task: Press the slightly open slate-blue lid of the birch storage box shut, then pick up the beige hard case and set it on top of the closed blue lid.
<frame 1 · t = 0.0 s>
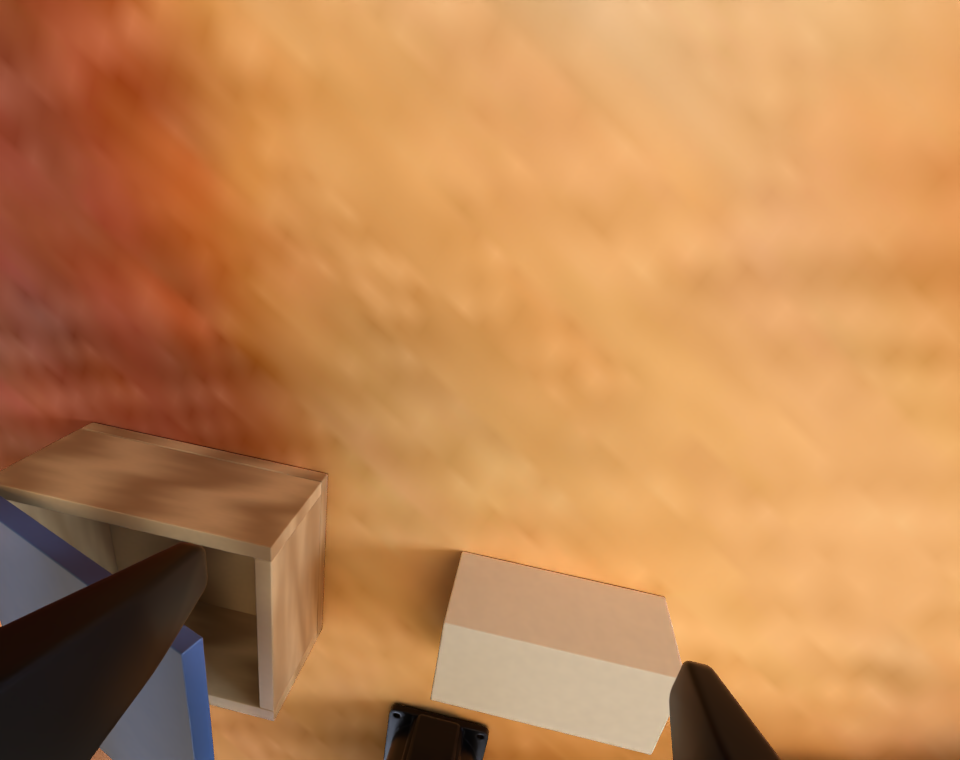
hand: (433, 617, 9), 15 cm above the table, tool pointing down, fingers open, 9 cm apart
case: (551, 609, 28), on the table
blue lid: (90, 658, 22), point 8 cm above the table, hinge at 18.0°
storage box: (214, 531, 29), on the table
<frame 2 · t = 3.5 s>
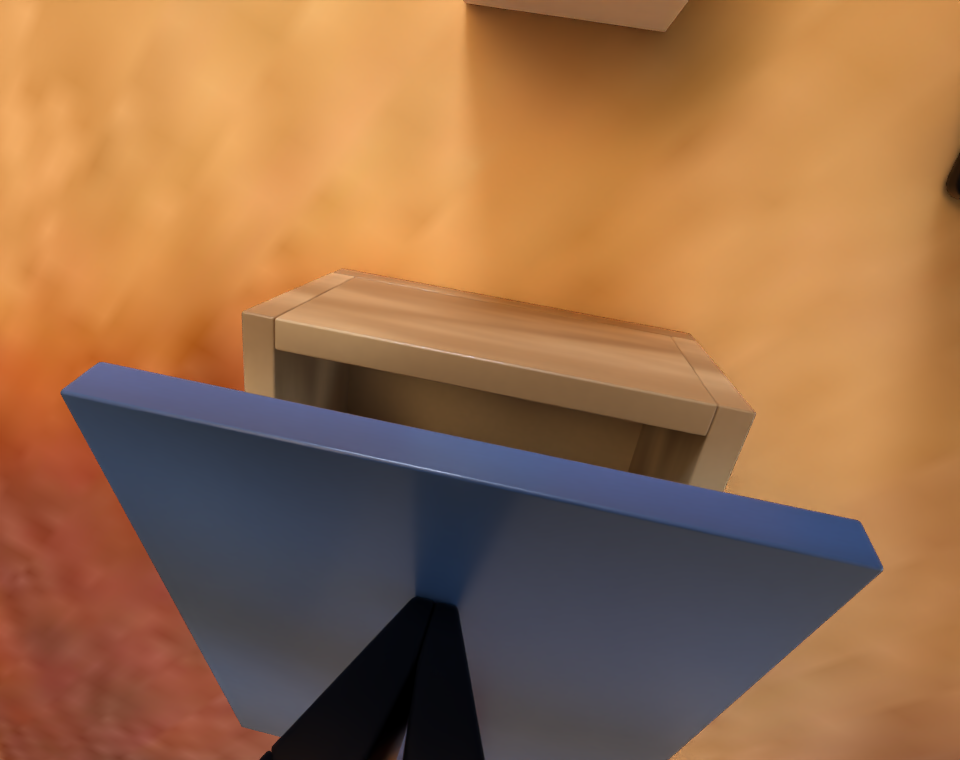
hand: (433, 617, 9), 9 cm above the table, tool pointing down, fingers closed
blue lid: (429, 663, 12), point 8 cm above the table, hinge at 15.3°
storage box: (479, 473, 19), on the table
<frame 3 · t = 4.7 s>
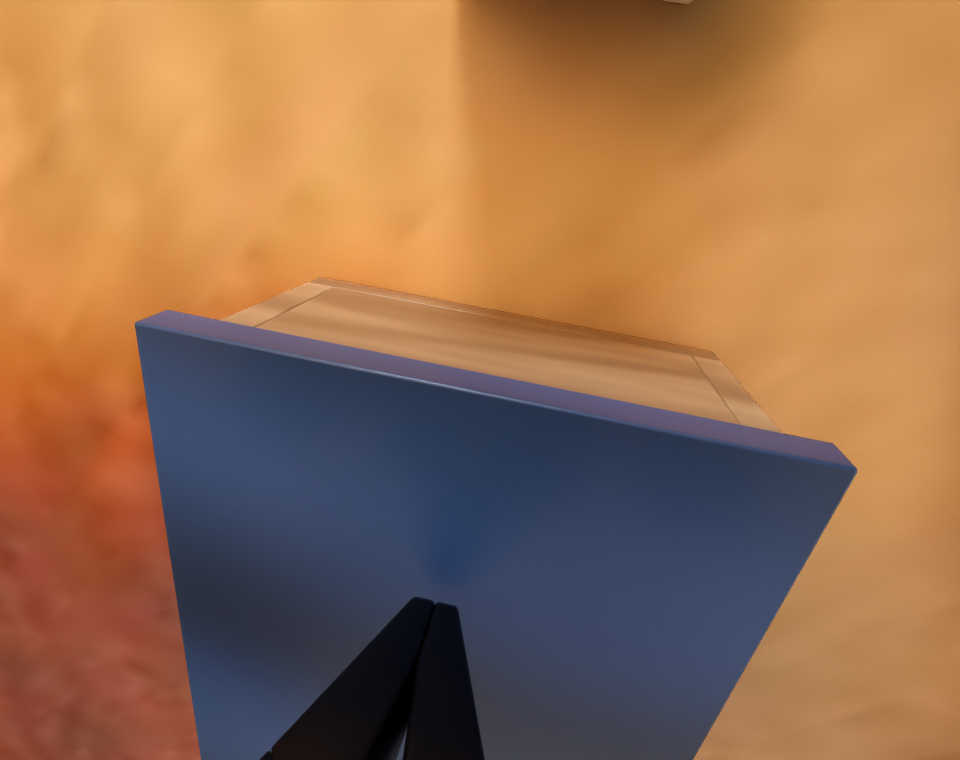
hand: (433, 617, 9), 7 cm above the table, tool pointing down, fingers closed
blue lid: (433, 665, 11), point 6 cm above the table, hinge at 1.6°
storage box: (475, 502, 17), on the table
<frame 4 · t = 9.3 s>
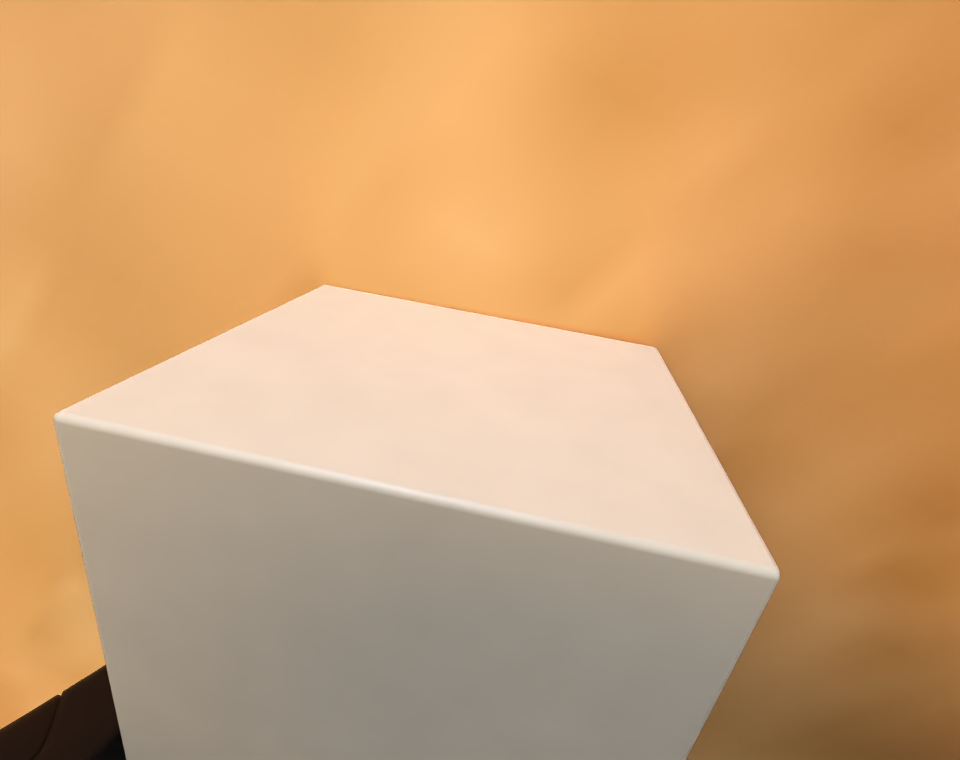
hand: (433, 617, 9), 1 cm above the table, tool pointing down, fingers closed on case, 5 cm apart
case: (444, 575, 10), on the table, touching gripper
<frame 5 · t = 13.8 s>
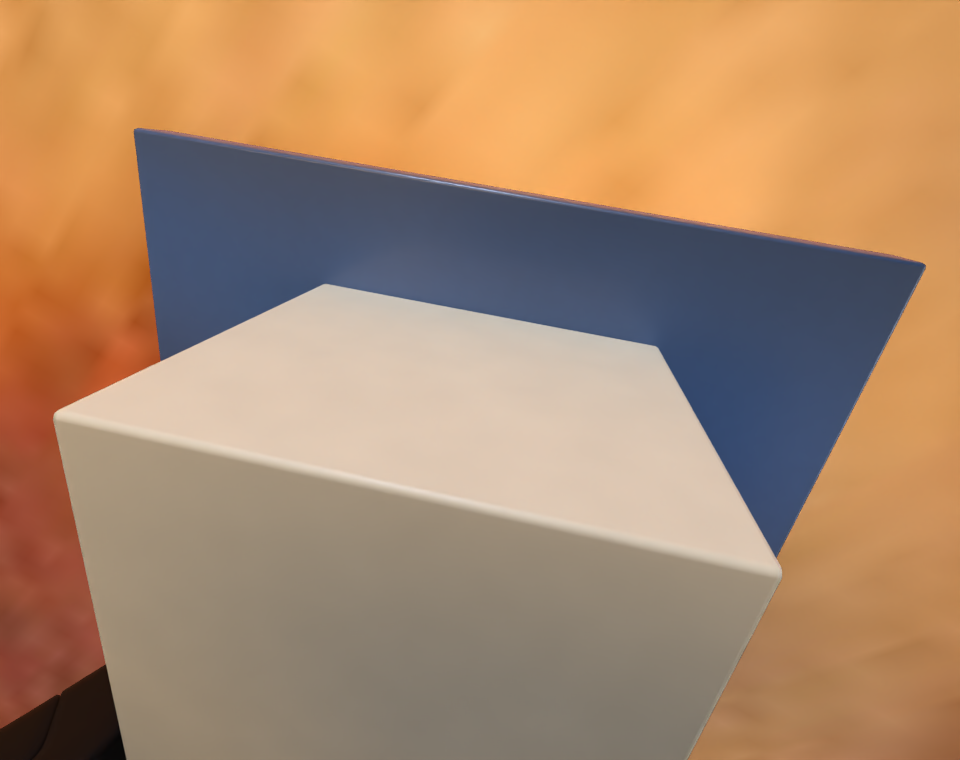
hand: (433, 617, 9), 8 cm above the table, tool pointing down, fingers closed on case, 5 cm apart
case: (444, 574, 10), point 7 cm above the table, touching blue lid, gripper
blue lid: (450, 550, 10), point 6 cm above the table, hinge at 0.6°, touching case
when the fingers open (8 cm above the table, at t = 14.0 s): case stays where it is, resting on blue lid.
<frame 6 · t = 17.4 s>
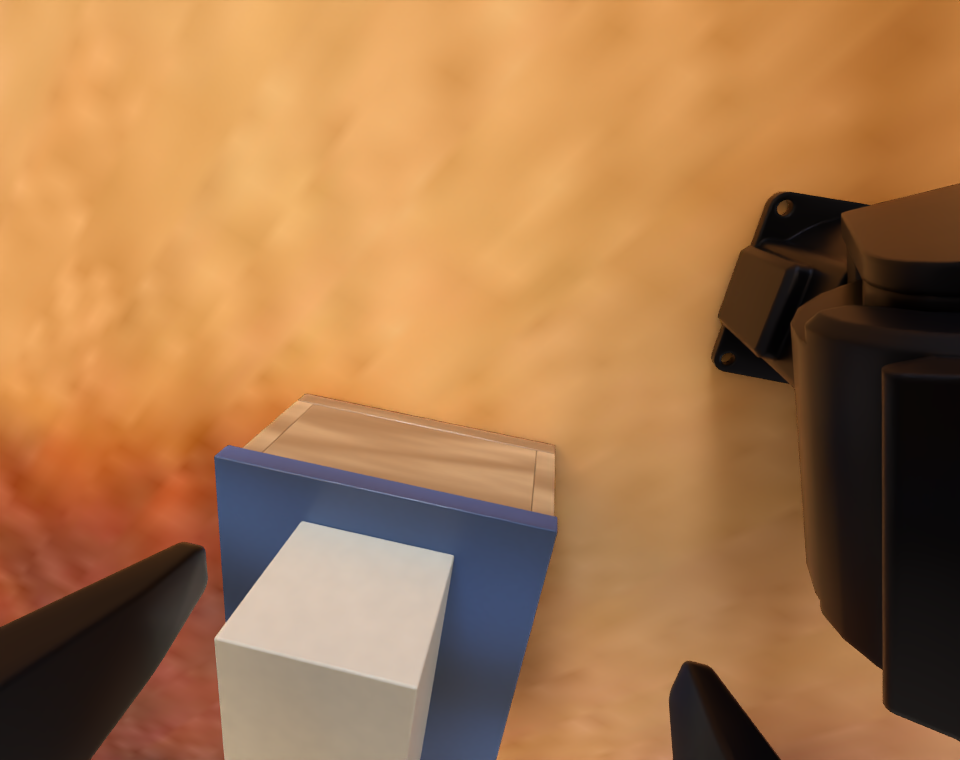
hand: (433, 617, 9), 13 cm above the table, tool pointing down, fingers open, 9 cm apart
case: (367, 649, 19), point 7 cm above the table, touching blue lid
blue lid: (370, 636, 19), point 6 cm above the table, hinge at -0.2°, touching case
storage box: (413, 536, 25), on the table
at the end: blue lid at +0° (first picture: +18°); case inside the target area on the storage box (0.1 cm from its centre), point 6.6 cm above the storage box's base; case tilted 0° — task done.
